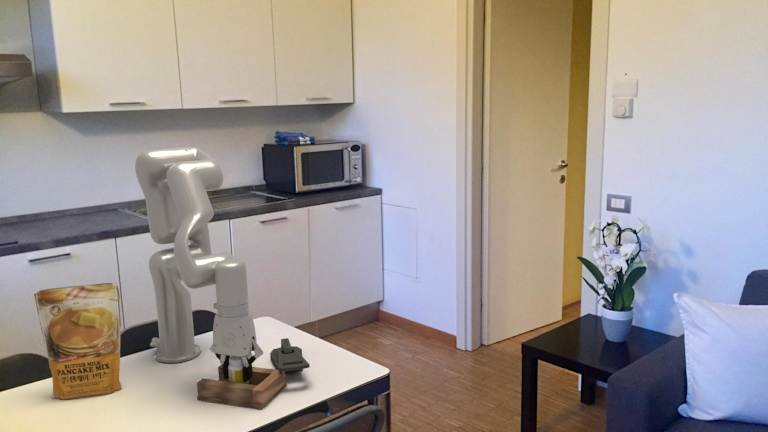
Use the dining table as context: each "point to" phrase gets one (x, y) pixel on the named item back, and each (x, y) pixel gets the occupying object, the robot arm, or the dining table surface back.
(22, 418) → the dining table surface
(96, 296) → the pancake mix bag
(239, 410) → the dining table surface
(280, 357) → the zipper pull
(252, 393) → the open u-shaped wooden frame
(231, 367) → the supplement bottle
